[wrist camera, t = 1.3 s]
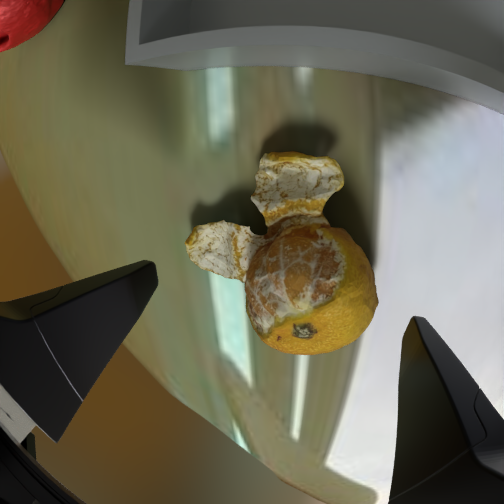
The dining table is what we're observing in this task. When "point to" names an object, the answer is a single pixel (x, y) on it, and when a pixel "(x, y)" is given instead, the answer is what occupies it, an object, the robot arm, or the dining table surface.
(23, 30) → the pomegranate
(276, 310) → the fruit
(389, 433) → the dining table surface
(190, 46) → the serving bin
